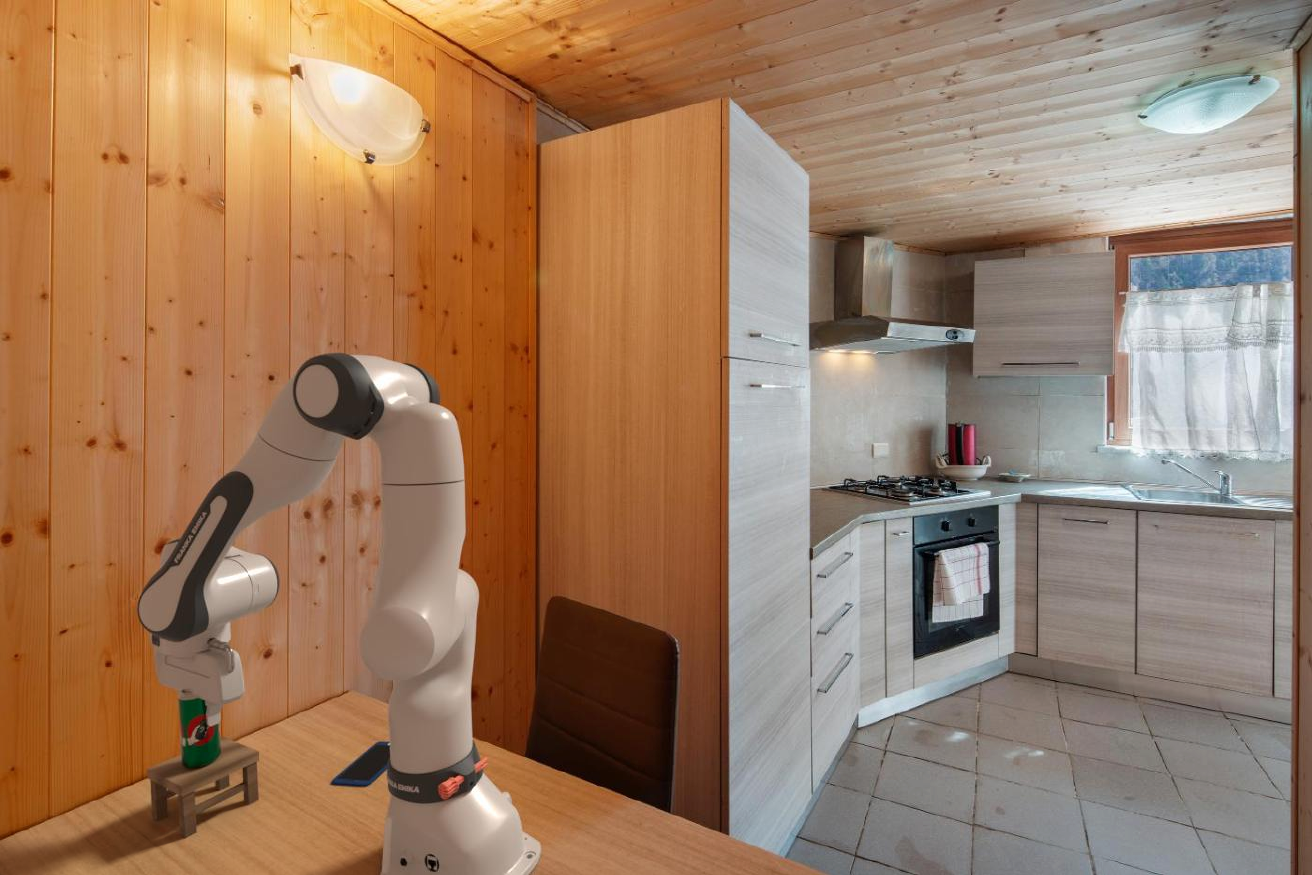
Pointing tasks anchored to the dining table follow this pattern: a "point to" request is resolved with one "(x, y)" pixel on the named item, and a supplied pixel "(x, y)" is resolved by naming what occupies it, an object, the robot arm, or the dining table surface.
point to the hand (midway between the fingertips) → (202, 719)
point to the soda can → (196, 733)
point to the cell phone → (365, 767)
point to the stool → (202, 783)
